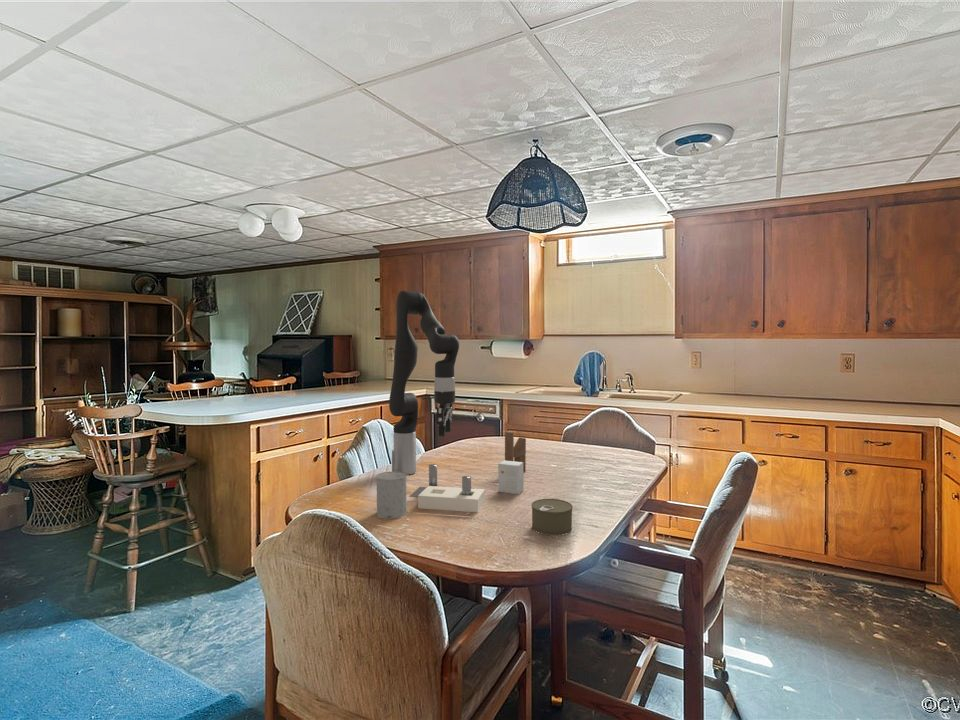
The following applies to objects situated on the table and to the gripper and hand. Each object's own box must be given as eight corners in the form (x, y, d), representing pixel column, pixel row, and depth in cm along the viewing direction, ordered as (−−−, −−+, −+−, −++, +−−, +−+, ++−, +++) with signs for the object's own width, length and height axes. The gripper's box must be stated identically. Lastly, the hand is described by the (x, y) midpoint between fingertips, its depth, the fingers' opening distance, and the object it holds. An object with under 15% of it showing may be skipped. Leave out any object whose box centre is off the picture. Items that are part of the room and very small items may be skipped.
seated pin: (461, 507, 163) (461, 477, 163) (463, 504, 166) (463, 475, 166) (470, 508, 163) (470, 478, 162) (472, 505, 166) (472, 476, 165)
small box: (523, 490, 182) (524, 462, 182) (518, 494, 177) (518, 465, 177) (503, 487, 186) (503, 459, 185) (498, 491, 181) (498, 463, 180)
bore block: (418, 509, 162) (418, 495, 162) (428, 498, 173) (428, 485, 173) (477, 513, 158) (477, 499, 158) (484, 502, 169) (484, 489, 169)
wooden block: (525, 471, 208) (526, 429, 208) (509, 476, 200) (509, 432, 200) (518, 470, 211) (519, 428, 210) (502, 475, 203) (502, 431, 202)
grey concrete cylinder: (392, 521, 152) (392, 481, 151) (370, 515, 157) (369, 476, 156) (413, 511, 160) (412, 474, 159) (390, 506, 165) (390, 470, 164)
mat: (409, 497, 174) (409, 496, 174) (419, 487, 186) (419, 486, 186) (447, 500, 171) (447, 499, 171) (456, 490, 183) (456, 489, 183)
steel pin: (427, 493, 177) (427, 466, 177) (430, 491, 180) (430, 464, 180) (435, 494, 177) (435, 466, 176) (438, 491, 179) (438, 464, 179)
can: (580, 527, 147) (580, 504, 146) (558, 539, 138) (558, 515, 137) (546, 517, 155) (546, 496, 154) (523, 528, 146) (523, 505, 145)
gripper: (439, 387, 187) (439, 430, 188) (429, 391, 173) (429, 437, 174) (459, 387, 186) (459, 430, 187) (450, 391, 172) (450, 438, 173)
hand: (444, 433), depth 180 cm, fingers open, 8 cm apart
